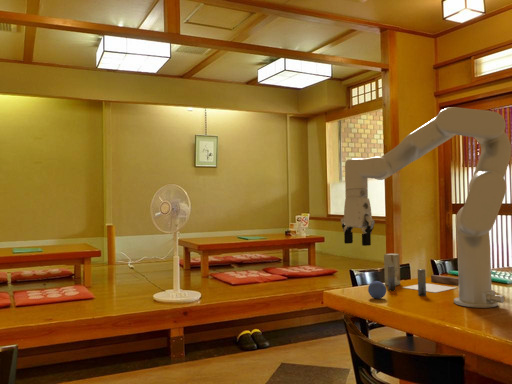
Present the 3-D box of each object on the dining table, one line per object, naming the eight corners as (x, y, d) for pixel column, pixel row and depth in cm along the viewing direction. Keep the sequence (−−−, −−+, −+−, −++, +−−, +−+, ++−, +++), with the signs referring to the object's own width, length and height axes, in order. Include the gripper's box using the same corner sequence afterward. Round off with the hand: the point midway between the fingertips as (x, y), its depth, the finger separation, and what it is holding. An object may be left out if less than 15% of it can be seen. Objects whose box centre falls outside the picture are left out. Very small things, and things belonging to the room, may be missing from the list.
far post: (396, 290, 175) (396, 266, 176) (392, 291, 174) (391, 266, 174) (391, 289, 177) (390, 265, 178) (386, 290, 176) (386, 266, 176)
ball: (390, 298, 160) (389, 281, 160) (378, 301, 157) (378, 283, 157) (376, 296, 165) (375, 279, 165) (364, 298, 162) (364, 281, 162)
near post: (427, 295, 165) (426, 269, 165) (423, 296, 163) (422, 270, 163) (421, 294, 167) (420, 268, 167) (416, 295, 165) (416, 269, 165)
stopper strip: (471, 286, 181) (470, 279, 181) (468, 286, 179) (468, 280, 180) (434, 281, 194) (433, 274, 194) (431, 281, 192) (431, 275, 193)
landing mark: (457, 288, 177) (457, 287, 177) (435, 292, 169) (435, 292, 169) (424, 283, 188) (424, 283, 188) (402, 287, 180) (402, 287, 180)
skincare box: (395, 286, 184) (394, 255, 184) (384, 285, 186) (383, 254, 187) (400, 284, 189) (399, 253, 189) (390, 283, 191) (389, 253, 192)
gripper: (382, 194, 155) (382, 245, 155) (350, 195, 171) (350, 242, 170) (363, 194, 152) (364, 247, 152) (332, 195, 168) (333, 243, 167)
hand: (357, 244), depth 161 cm, fingers open, 9 cm apart
